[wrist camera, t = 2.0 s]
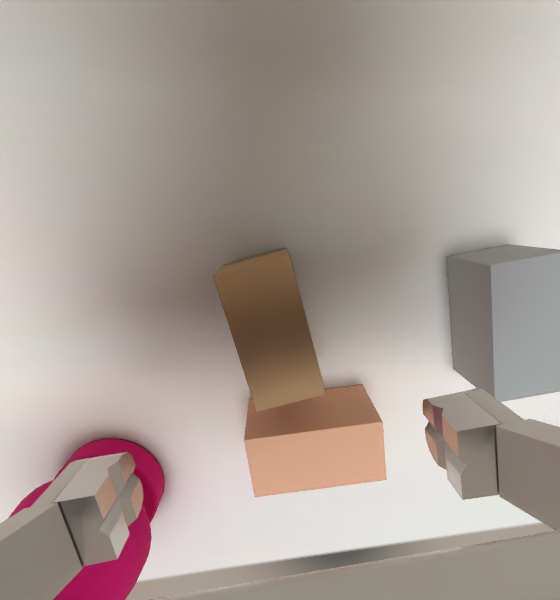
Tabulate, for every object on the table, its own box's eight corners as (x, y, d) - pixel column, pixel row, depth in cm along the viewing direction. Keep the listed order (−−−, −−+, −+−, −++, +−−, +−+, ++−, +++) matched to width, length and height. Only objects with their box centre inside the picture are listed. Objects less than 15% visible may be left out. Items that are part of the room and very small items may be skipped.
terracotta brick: (257, 446, 21) (255, 497, 17) (249, 398, 20) (244, 440, 17) (365, 432, 21) (386, 479, 17) (361, 383, 20) (382, 421, 16)
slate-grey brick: (444, 256, 19) (490, 265, 15) (506, 244, 19) (568, 250, 15) (452, 367, 20) (494, 402, 16) (508, 357, 20) (565, 390, 16)
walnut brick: (225, 264, 18) (213, 275, 15) (285, 247, 18) (289, 254, 14) (259, 374, 20) (256, 411, 16) (315, 359, 20) (325, 394, 16)
